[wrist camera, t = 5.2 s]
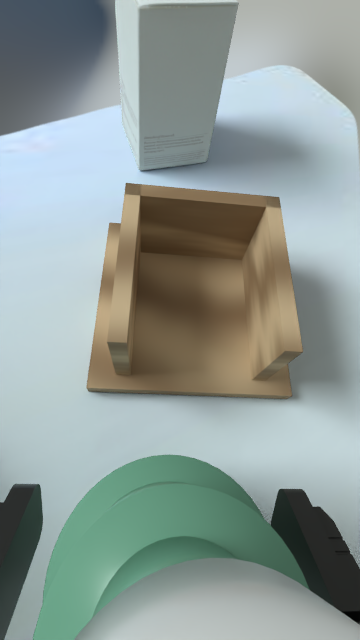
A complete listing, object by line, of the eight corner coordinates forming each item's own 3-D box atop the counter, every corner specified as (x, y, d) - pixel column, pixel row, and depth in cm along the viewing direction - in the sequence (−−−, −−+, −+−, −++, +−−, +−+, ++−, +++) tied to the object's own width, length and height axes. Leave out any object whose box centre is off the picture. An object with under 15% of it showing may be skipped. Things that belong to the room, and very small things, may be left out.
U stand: (110, 230, 28) (101, 161, 22) (267, 243, 30) (300, 180, 23) (88, 391, 22) (67, 358, 16) (286, 398, 24) (338, 371, 17)
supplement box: (208, 163, 33) (242, 2, 22) (137, 172, 32) (134, 4, 20) (187, 117, 36) (207, -47, 25) (120, 123, 35) (109, -49, 23)
